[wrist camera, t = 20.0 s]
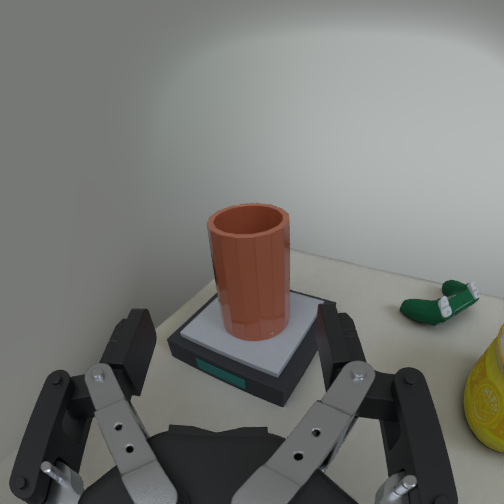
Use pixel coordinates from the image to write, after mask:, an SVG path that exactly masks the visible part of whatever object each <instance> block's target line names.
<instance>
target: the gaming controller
mask: <svg viewBox="0 0 504 504" xmlns="http://www.w3.org/2000/svg"><path fill="white" fill-rule="evenodd" d="M442 291H443V293H444V295H445V296H443V297H442V298H439V299H438V300H435V301H430V300H421V299H408V300H405V301H403V303H402V305H401V307H400V311H401V312H402V313H403V314H405V315H406V316H408V317H410V318H412V319H414V320H416V321H419V322H422V323H427V324H433V325H438V324H441V323H443V322H445V320H447V319H450V318H451V317H453V316H454V315H456V314H458V313H459V312H461V311H463V310H464V309H466V308H467V307H469V306H471V305H473V304H474V303H475V302H476V301H478V299H479V291H478V290H477V287H476V285H475V282H474V281H471V282H470V283H468V284H466V285H465V284H463V283H461V282H458V281H455V280H449V281H446V282H445V283H443V286H442Z"/></svg>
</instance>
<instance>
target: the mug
mask: <svg viewBox="0 0 504 504" xmlns="http://www.w3.org/2000/svg"><path fill="white" fill-rule="evenodd" d="M463 405H464V411H465V417H466V419H467V421H468V424H469V426H470V428H471V430H472V431H473V432H474V434H475V435H476V437H477V438H478V439H479V440H480V441H481V442H483V443H484V444H485V445H486V446H487V447H489V448H491V449H493V450H496V451H498V452H504V324H503V325H502V326H501V328H500V331H499V333H498V336H497V337H496V338H495V339H494V340H493V342H492V343H491V344H490V346H489V347H488V348H487V350H486V351H485V352H484V354H483V355H482V356H481V358H480V359H479V360H478V362H477V363H476V364H475V366H474V367H473V369H472V370H471V373H470V375H469V377H468V379H467V381H466V385H465V389H464V401H463Z"/></svg>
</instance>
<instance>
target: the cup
mask: <svg viewBox="0 0 504 504" xmlns="http://www.w3.org/2000/svg"><path fill="white" fill-rule="evenodd" d="M207 229H208V236H209V243H210V249H211V256H212V263H213V269H214V275H215V282H216V288H217V295H218V301H219V307H220V313H221V318H222V321H223V325H224V327H225V329H226V330H227V332H228V333H230V334H231V335H232V336H234V337H236V338H238V339H241V340H245V341H262V340H267V339H270V338H273V337H275V336H277V335H278V334H280V333H281V332H282V331H283V330H284V329H285V328H286V326H287V325H288V322H289V316H290V230H289V229H290V227H289V214H288V213H287V212H285V211H284V210H283V209H282V208H279V207H276V206H273V205H269V204H260V203H250V204H240V205H234V206H230V207H227V208H224V209H222V210H219V211H217V212H216V213H214V214H213V215H212V216H210V217H209V220H208V222H207Z"/></svg>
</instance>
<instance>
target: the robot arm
mask: <svg viewBox="0 0 504 504" xmlns="http://www.w3.org/2000/svg"><path fill="white" fill-rule="evenodd" d="M316 340H317V346H318V351H319V356H320V362H321V367H322V373H323V378H324V384H325V390H326V394H325V395H324V397H323V398H322V399H321V400H317V401H316V402H315V403H314V404H313V405H312V407H311V408H310V409H309V411H308V412H307V413H306V415H305V416H304V417H303V419H302V420H301V421H300V422H299V424H298V425H297V426H296V428H295V429H294V430H293V431H292V433H291V434H290V435H289V436H288V438H287V439H285V438H283V437H280V436H278V435H274V434H270V433H268V428H267V427H242V428H238V429H233V430H228V431H223V432H212V431H208V430H204V429H201V428H197V427H194V426H182V425H169V430H168V431H166V432H162V433H159V434H156V435H154V436H152V437H150V435H149V434H148V432H147V431H146V429H145V427H144V425H143V424H142V422H141V420H140V418H139V416H138V414H137V412H136V411H135V409H134V407H133V405H132V403H131V401H130V400H131V397H132V395H135V396H140V395H141V391H142V388H143V384H144V381H145V378H146V374H147V371H148V368H149V364H150V361H151V358H152V355H153V351H154V348H155V345H156V331H155V328H154V325H153V322H152V319H151V316H150V313H149V311H148V310H147V309H132V310H131V311H130V313H129V316H128V318H127V319H122V320H121V321H120V322H119V323H118V324H117V325H116V327H115V329H114V331H113V335H112V336H111V338H110V341H109V342H108V344H107V347H106V349H105V351H104V353H103V356H102V358H101V360H100V362H99V364H95V365H93V366H91V367H90V368H89V369H88V370H87V372H86V374H84V375H79V376H73V377H70V375H69V374H68V373H67V372H66V371H64V370H57V371H54V372H52V373H51V374H50V375H49V376H48V377H47V379H46V381H45V383H44V386H43V388H42V390H41V393H40V395H39V397H38V400H37V402H36V405H35V407H34V410H33V413H32V415H31V417H30V420H29V423H28V426H27V428H26V431H25V434H24V437H23V439H22V442H21V445H20V448H19V451H18V454H17V457H16V460H15V464H14V467H13V470H12V474H11V477H10V482H9V484H10V489H11V491H12V493H13V494H14V495H15V496H16V497H18V498H20V499H21V500H23V501H25V502H26V503H27V504H358V503H357V502H356V501H355V500H354V499H353V498H352V497H350V496H349V495H348V494H347V493H346V492H345V491H343V490H342V489H341V488H340V487H339V486H338V485H337V484H336V483H334V482H333V481H332V480H331V479H330V478H329V477H328V476H327V475H326V474H325V473H324V472H325V471H326V469H327V468H328V467H329V465H330V464H331V462H332V461H333V459H334V458H335V456H336V454H337V453H338V451H339V449H340V447H341V446H342V444H343V442H344V441H345V439H346V438H347V436H348V435H349V433H350V431H351V430H352V428H353V426H354V425H355V423H356V421H357V420H358V418H359V417H364V418H372V419H379V422H380V427H381V433H382V438H383V444H384V450H385V456H386V463H387V469H388V476H389V478H388V479H387V480H386V481H385V482H384V483H383V484H382V485H381V486H380V488H379V489H378V490H377V492H376V497H375V504H458V497H457V492H456V487H455V482H454V478H453V473H452V469H451V465H450V461H449V457H448V453H447V449H446V445H445V441H444V438H443V434H442V430H441V427H440V424H439V420H438V417H437V414H436V410H435V407H434V404H433V401H432V398H431V395H430V392H429V388H428V386H427V383H426V380H425V377H424V375H423V374H422V373H421V372H420V371H419V370H417V369H415V368H410V367H406V368H402V369H400V370H399V371H398V372H397V373H396V374H387V373H381V372H377V371H375V370H374V369H373V367H372V366H371V365H369V364H368V363H367V362H366V359H365V356H364V353H363V350H362V346H361V343H360V340H359V337H358V334H357V331H356V329H355V325H354V322H353V320H352V319H351V318H350V316H349V315H348V314H347V313H338V312H337V309H336V305H335V303H321V304H318V309H317V321H316ZM93 417H96V420H97V422H98V425H99V427H100V430H101V432H102V434H103V437H104V439H105V441H106V444H107V446H108V448H109V450H110V453H111V455H112V457H113V459H114V461H115V463H116V466H115V467H113V468H112V469H111V470H110V471H108V472H107V473H106V474H105V475H103V476H102V477H101V478H100V479H98V480H97V481H96V482H95V483H93V484H92V485H91V486H89V487H88V488H87V489H86V490H85V491H84V488H83V481H82V478H81V477H80V475H79V469H80V465H81V461H82V457H83V453H84V449H85V445H86V441H87V437H88V433H89V430H90V426H91V422H92V419H93Z"/></svg>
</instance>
